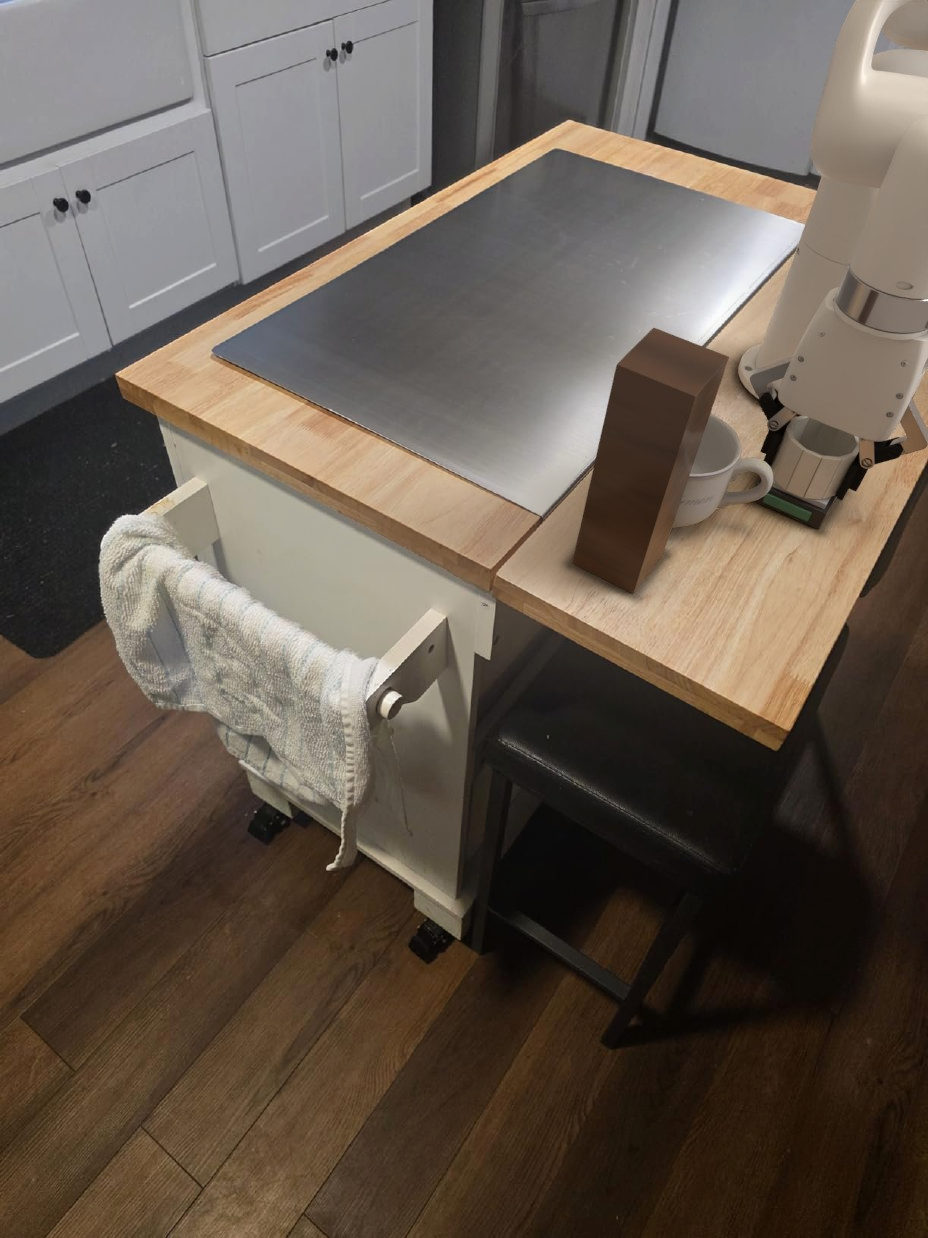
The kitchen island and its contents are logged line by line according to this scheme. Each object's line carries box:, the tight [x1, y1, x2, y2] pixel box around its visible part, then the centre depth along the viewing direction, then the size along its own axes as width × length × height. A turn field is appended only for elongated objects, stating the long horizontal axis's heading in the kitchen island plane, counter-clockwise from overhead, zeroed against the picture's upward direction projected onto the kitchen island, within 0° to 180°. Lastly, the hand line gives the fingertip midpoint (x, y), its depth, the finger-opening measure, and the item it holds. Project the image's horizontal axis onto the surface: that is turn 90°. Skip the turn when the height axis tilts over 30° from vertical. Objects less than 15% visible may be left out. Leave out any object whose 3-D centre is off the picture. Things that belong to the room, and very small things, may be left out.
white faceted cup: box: [771, 415, 859, 499], centre depth 79 cm, size 6×6×5 cm
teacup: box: [672, 413, 773, 529], centre depth 78 cm, size 14×11×8 cm
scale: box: [754, 466, 838, 530], centre depth 82 cm, size 7×7×3 cm
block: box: [571, 327, 730, 594], centre depth 69 cm, size 6×6×20 cm
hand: (806, 474), depth 81 cm, fingers closed on white faceted cup, 6 cm apart
